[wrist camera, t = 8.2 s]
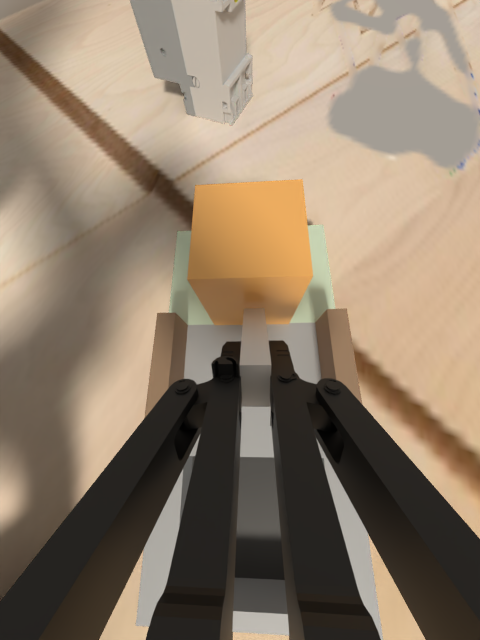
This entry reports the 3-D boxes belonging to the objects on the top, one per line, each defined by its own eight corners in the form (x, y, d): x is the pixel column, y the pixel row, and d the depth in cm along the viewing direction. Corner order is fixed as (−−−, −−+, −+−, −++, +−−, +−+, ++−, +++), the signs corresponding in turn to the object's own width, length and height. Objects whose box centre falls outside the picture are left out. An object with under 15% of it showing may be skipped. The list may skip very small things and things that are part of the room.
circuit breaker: (178, 79, 39) (134, -103, 24) (252, 96, 36) (251, -98, 22) (155, 106, 37) (93, -75, 23) (232, 125, 34) (215, -65, 20)
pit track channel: (361, 598, 17) (423, 719, 11) (154, 588, 18) (101, 693, 12) (315, 242, 27) (334, 197, 20) (185, 247, 28) (165, 206, 21)
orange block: (288, 324, 21) (313, 275, 12) (214, 325, 21) (187, 279, 13) (284, 259, 23) (302, 179, 14) (217, 261, 23) (195, 185, 15)
